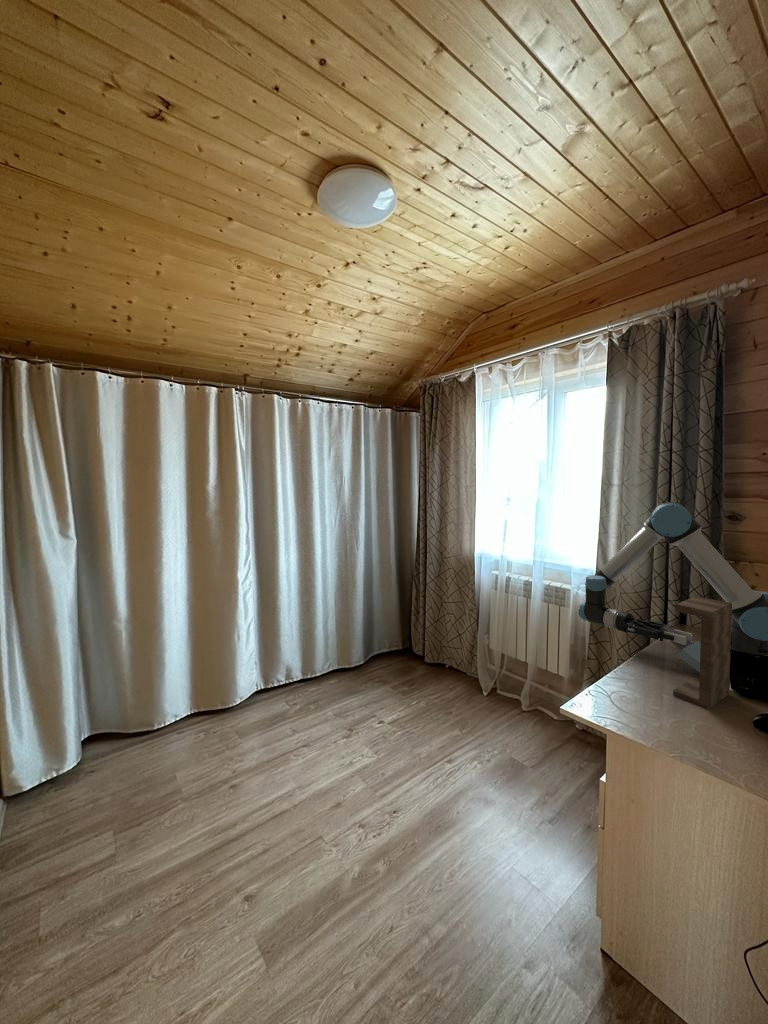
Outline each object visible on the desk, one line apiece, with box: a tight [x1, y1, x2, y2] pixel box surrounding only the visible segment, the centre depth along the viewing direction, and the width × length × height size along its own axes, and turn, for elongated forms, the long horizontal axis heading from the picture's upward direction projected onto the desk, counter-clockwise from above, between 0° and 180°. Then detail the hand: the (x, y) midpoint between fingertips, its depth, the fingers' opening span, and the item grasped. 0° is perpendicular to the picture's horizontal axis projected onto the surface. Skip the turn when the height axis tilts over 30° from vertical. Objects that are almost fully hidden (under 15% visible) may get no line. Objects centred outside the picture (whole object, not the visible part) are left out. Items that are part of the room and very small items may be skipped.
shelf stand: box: [672, 595, 732, 710], centre depth 119 cm, size 14×9×28 cm, turn 122°
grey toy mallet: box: [659, 624, 701, 674], centre depth 138 cm, size 12×17×3 cm
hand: (688, 639), depth 138 cm, fingers closed on grey toy mallet, 4 cm apart
